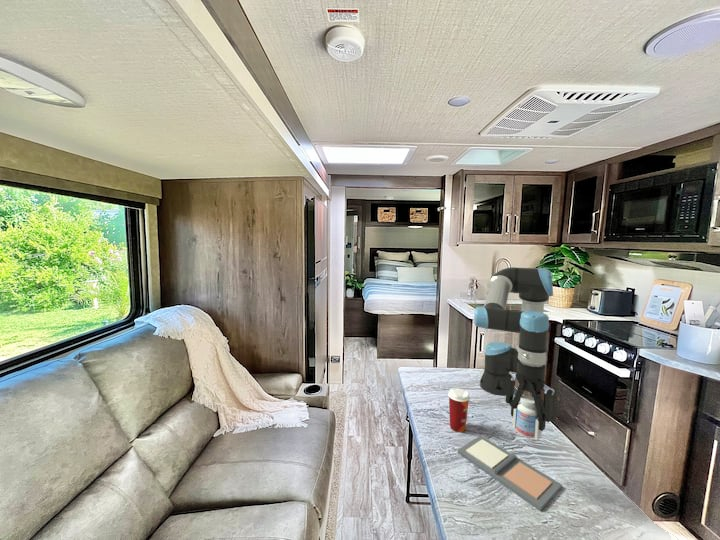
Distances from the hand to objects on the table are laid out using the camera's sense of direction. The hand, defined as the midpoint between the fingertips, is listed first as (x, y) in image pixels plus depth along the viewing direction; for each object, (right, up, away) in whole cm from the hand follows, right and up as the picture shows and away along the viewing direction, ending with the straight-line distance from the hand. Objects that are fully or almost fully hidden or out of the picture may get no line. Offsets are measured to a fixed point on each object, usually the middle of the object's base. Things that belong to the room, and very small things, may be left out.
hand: (526, 432), depth 94 cm
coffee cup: (-13, -13, +27) cm, 33 cm away
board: (-4, -15, +6) cm, 17 cm away
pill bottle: (0, 0, 0) cm, 1 cm away
